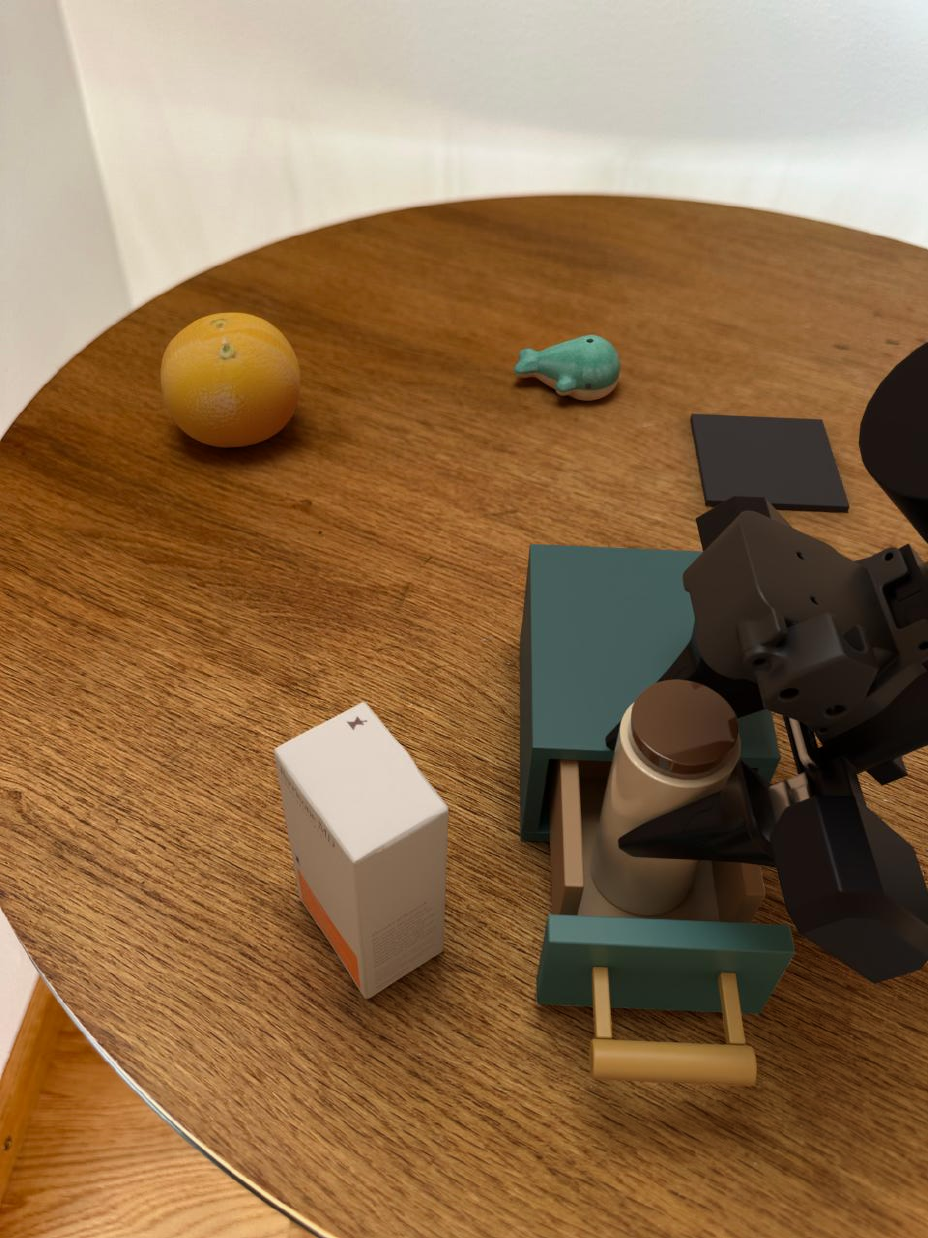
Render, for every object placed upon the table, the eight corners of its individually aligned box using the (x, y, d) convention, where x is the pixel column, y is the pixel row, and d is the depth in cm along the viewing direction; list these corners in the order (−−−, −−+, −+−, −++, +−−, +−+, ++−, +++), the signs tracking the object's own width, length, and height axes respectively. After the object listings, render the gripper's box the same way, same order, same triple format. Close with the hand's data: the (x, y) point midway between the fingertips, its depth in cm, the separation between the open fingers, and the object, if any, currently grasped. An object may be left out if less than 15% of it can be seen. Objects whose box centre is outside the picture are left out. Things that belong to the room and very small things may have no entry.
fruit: (189, 483, 68) (167, 377, 62) (159, 411, 73) (136, 306, 67) (321, 450, 71) (313, 345, 65) (284, 383, 76) (272, 279, 70)
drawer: (777, 1120, 42) (817, 1066, 38) (537, 1110, 42) (551, 1054, 38) (724, 784, 53) (751, 712, 49) (533, 775, 53) (543, 702, 49)
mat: (820, 424, 74) (822, 418, 74) (847, 512, 68) (849, 506, 68) (690, 418, 74) (691, 413, 74) (705, 505, 68) (707, 499, 68)
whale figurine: (610, 416, 74) (617, 369, 71) (506, 398, 75) (509, 351, 72) (622, 369, 78) (629, 323, 75) (523, 352, 79) (527, 306, 76)
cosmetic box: (295, 899, 49) (268, 744, 40) (375, 853, 51) (365, 694, 42) (365, 1008, 46) (352, 864, 37) (448, 954, 47) (454, 805, 39)
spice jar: (687, 827, 50) (738, 675, 42) (698, 918, 47) (755, 774, 39) (587, 822, 50) (619, 670, 42) (592, 914, 47) (627, 768, 39)
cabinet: (742, 851, 51) (781, 758, 46) (520, 841, 51) (532, 747, 46) (710, 651, 60) (739, 552, 54) (519, 642, 60) (529, 543, 54)
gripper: (814, 314, 38) (481, 531, 46) (996, 749, 26) (496, 949, 33) (945, 490, 44) (633, 656, 52) (1143, 909, 32) (693, 1046, 39)
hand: (617, 795), depth 44 cm, fingers closed on spice jar, 4 cm apart
